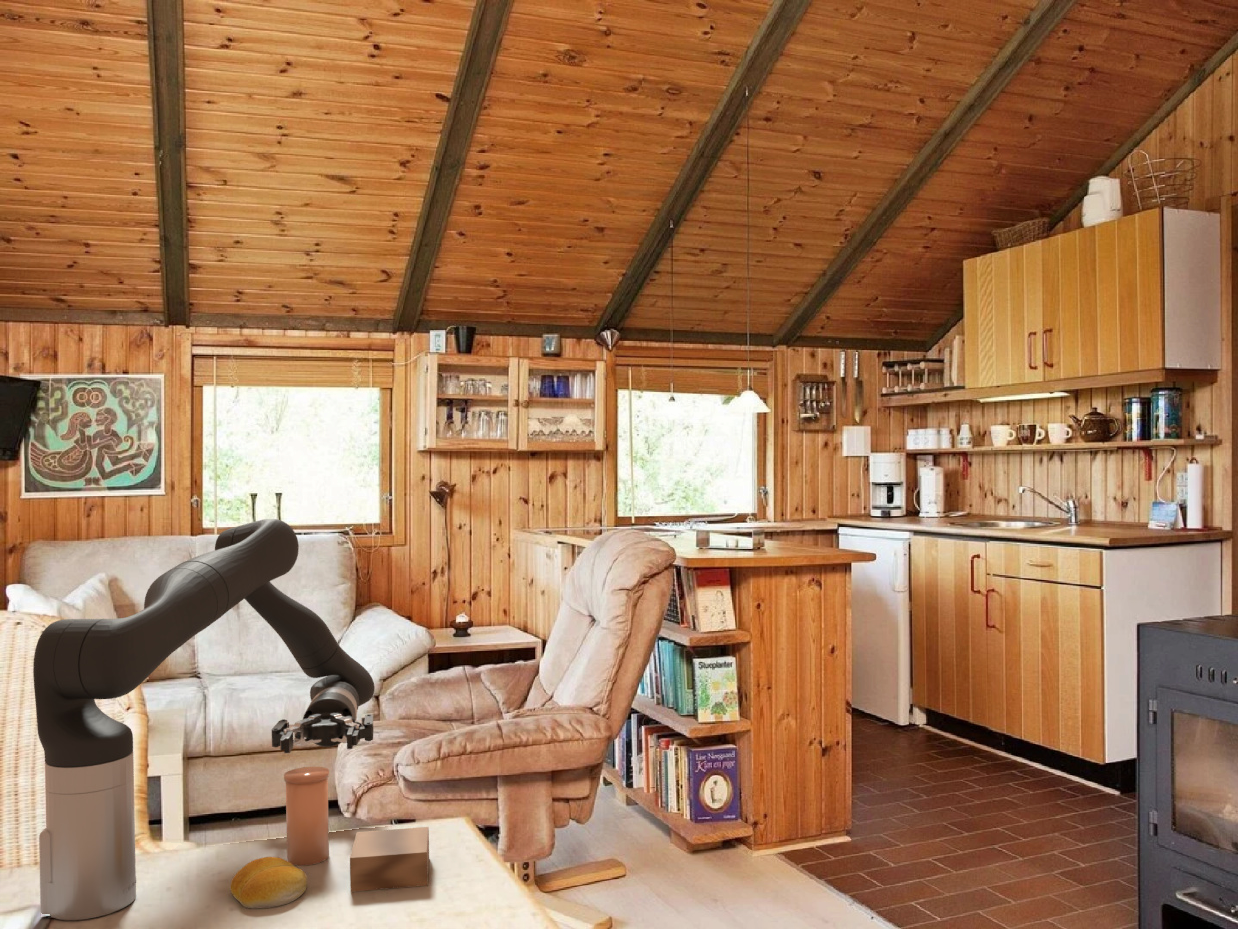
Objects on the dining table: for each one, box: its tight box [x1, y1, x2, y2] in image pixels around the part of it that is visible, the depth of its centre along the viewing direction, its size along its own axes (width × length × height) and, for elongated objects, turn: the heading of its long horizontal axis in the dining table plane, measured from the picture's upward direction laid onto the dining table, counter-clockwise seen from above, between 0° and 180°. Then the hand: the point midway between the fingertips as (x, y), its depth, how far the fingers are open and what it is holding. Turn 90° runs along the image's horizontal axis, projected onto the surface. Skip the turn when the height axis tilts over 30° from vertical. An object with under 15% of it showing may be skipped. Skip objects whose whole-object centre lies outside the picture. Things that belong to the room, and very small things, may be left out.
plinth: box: [349, 826, 430, 893], centre depth 129 cm, size 9×9×4 cm
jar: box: [283, 766, 330, 866], centre depth 135 cm, size 6×6×11 cm
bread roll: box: [229, 856, 308, 909], centre depth 124 cm, size 8×9×4 cm
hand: (318, 744), depth 146 cm, fingers open, 8 cm apart
